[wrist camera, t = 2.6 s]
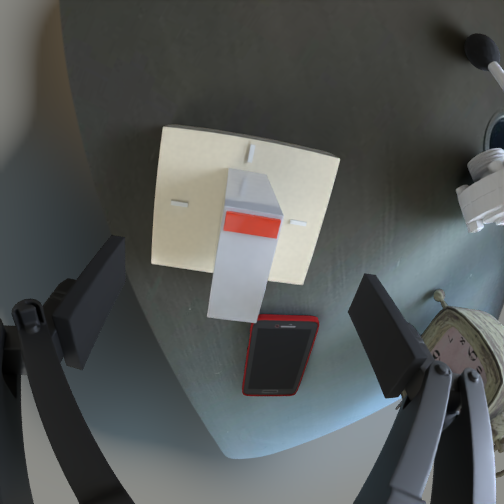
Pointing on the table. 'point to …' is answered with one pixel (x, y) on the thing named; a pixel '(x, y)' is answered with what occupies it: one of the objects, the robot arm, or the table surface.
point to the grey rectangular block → (244, 246)
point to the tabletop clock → (471, 354)
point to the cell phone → (278, 354)
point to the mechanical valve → (489, 162)
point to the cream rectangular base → (212, 191)
